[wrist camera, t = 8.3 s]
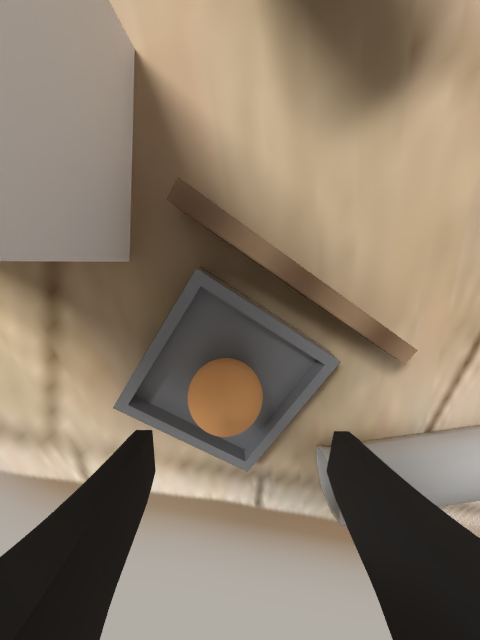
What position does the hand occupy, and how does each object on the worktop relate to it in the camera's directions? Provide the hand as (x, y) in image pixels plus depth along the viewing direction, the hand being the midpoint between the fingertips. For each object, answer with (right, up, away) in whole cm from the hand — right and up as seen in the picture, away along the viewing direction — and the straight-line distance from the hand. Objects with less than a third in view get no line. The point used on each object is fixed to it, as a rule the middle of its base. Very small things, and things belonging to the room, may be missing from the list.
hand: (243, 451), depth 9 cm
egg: (-1, 0, +6) cm, 7 cm away
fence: (+4, +8, +7) cm, 12 cm away
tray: (-1, +1, +9) cm, 10 cm away
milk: (-13, +16, +5) cm, 21 cm away
